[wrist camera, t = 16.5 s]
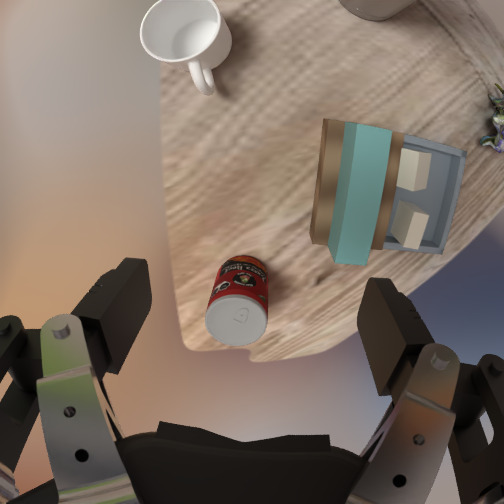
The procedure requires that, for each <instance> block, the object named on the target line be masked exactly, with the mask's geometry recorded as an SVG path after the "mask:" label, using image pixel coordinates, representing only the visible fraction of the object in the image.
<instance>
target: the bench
mask: <svg viewBox="0 0 504 504" xmlns="http://www.w3.org/2000/svg"><path fill="white" fill-rule="evenodd" d="M344 129H345V122H342V121H335V120H329V119H323V127H322V137H321V147H320V156H319V164H318V173H317V181H316V189H315V197H314V204H313V211H312V218H311V225H310V232H309V234H310V237H311V240H312V244H320V245H328V240H329V234H330V229H331V223H332V217H333V211H334V204H335V198H336V191H337V185H338V177H339V170H340V163H341V155H342V147H343V138H344ZM404 136H405V134H402V133H398V132H394V131H392V136H391V143H390V150H389V157H388V164H387V170H386V176H385V182H384V187H383V193H382V198H381V203H380V208H379V213H378V218H377V222H376V227H375V231H374V236H373V240H372V244H371V248H370V249H376V250H382V249H383V245H384V241H385V237H386V233H387V228H388V224H389V220H390V215H391V211H392V206H393V201H394V196H395V191H396V185H397V179H398V172H399V165H400V157H401V149H402V148H403V143H404Z"/></svg>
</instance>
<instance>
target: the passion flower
mask: <svg viewBox="0 0 504 504" xmlns="http://www.w3.org/2000/svg"><path fill="white" fill-rule="evenodd" d="M495 85H496V86H497V88H498V89H499V90H500V91H501V92H502V94H503V98H502V99H499V98H495V97H492V96H490V95H489V94H488V96H489V97H490V98H491V100H492V103H493V105H494V106H495V107H496V108H495V109H496V113H495V114H493V117H492V123H493V124H494V126H495V128H496V129H497V134H491V135H489V136H483V137H482V138H481V139H480V144H481V145H482V146H484V145H491V146H492V147H493V148H494V149H495V150H496V151H497V152H499V153H501V152H504V110H503V108H504V106H502V105H500V104H499V103H500V102H502V101H503V100H504V90H503V89H502V88H501V87H500V86H499V85H498V84H495ZM498 108H499V109H500V110H499V109H498ZM500 113H501V114H500Z"/></svg>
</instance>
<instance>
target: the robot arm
mask: <svg viewBox="0 0 504 504" xmlns="http://www.w3.org/2000/svg"><path fill="white" fill-rule="evenodd" d="M339 1H340V2H341V4H342V5H343V6H344V7H345V8H346V9H347V10H349V11H350V12H351V13H353V14H355V15H357V16H359V17H361V18H364V19H367V20H372V21H382V20H386V19H388V18H390V17H392V16H393V15H395V14H396V13H398V12H399V11H401V10H403V9H404V8H406V7H407V6H409V5H411V4H412V3H414V2H415V1H417V0H339ZM151 303H152V293H151V286H150V279H149V271H148V264H147V261H146V260H145V259H137V258H125V259H124V260H123V261H122V262H121V263H120V264H119V266H118V267H117V268H116V269H112V270H110V271H109V272H107V273H105V274H104V275H102V276H101V277H100V278H99V279H98V280H97V282H96V283H95V285H94V286H92V288H91V289H90V290H89V293H87V294H86V295H85V296H84V297H83V299H82V300H81V301H80V302H79V304H78V305H77V306H76V307H75V309H74V310H73V311H72V312H71V314H62V315H57V316H55V317H52V318H51V319H49V320H48V321H47V322H46V323H45V324H44V325H43V326H42V328H41V329H24V326H23V324H22V322H21V320H20V319H19V317H17V316H13V315H9V316H4V317H2V318H0V383H1V381H2V379H3V377H4V376H5V374H6V373H7V371H8V372H9V374H10V375H11V377H12V378H13V381H12V383H11V384H10V386H9V388H8V389H7V391H6V393H5V395H4V397H3V398H2V400H1V402H0V504H424V503H425V501H426V499H427V497H428V495H429V493H430V490H431V488H432V486H433V483H434V481H435V478H436V476H437V473H438V470H439V468H440V465H441V463H442V460H443V457H444V454H445V451H446V448H447V445H448V449H449V452H450V456H451V460H452V464H453V469H454V473H455V477H456V482H457V486H458V491H459V496H460V502H461V504H504V360H503V359H502V358H500V357H498V356H496V355H493V354H486V355H484V356H483V357H482V358H481V359H480V361H479V362H478V364H477V365H471V364H465V363H460V361H459V358H458V356H457V355H456V353H455V352H454V351H453V350H451V349H450V348H449V347H447V346H445V345H442V344H439V343H435V341H434V339H433V338H432V336H431V334H430V332H429V331H428V329H427V327H426V325H425V324H424V322H423V320H422V319H421V317H420V315H419V313H418V312H416V309H415V307H414V305H413V304H412V302H411V300H409V299H408V298H407V297H406V296H405V295H404V294H403V293H401V292H398V291H397V289H396V287H395V286H394V284H393V282H392V281H391V279H389V278H373V277H371V278H369V280H368V282H367V284H366V288H365V291H364V295H363V298H362V301H361V305H360V308H359V311H358V316H357V327H358V330H359V333H360V336H361V339H362V343H363V346H364V349H365V352H366V355H367V358H368V361H369V365H370V368H371V371H372V374H373V378H374V381H375V384H376V388H377V391H378V395H379V396H387V395H391V397H392V402H391V403H390V405H389V407H388V408H387V410H386V412H385V414H384V416H383V418H382V419H381V421H380V423H379V425H378V427H377V428H376V430H375V432H374V434H373V435H372V437H371V439H370V440H369V442H368V444H367V445H366V447H365V448H364V449H363V451H362V452H361V454H360V455H359V456H358V455H356V454H354V453H353V452H350V451H348V450H345V449H341V448H339V447H335V446H330V437H329V435H286V436H281V437H275V438H270V439H264V440H258V441H251V442H240V441H237V440H233V439H230V438H227V437H224V436H221V435H218V434H215V433H213V432H210V431H207V430H204V429H201V428H197V427H190V426H184V425H177V424H172V423H167V422H162V421H160V422H159V425H158V428H157V432H147V433H140V434H135V435H132V436H129V437H125V435H124V433H123V431H122V429H121V426H120V424H119V421H118V419H117V417H116V414H115V411H114V409H113V406H112V403H111V400H110V397H109V395H108V392H107V389H106V386H105V383H104V381H103V377H104V375H105V373H106V372H109V373H113V374H117V375H118V374H119V371H120V369H121V367H122V365H123V363H124V361H125V359H126V357H127V355H128V353H129V351H130V349H131V347H132V344H133V343H134V341H135V339H136V337H137V335H138V333H139V331H140V329H141V327H142V325H143V323H144V321H145V319H146V317H147V315H148V313H149V311H150V308H151ZM485 411H487V414H488V416H489V419H490V421H491V424H492V426H493V430H494V436H493V440H492V442H491V443H490V444H489V445H488V442H487V439H486V436H485V433H484V430H483V428H482V425H481V422H480V419H479V418H480V417H481V416H482V415H483V413H484V412H485ZM39 412H40V416H41V422H42V428H43V433H44V438H45V443H46V448H47V452H48V457H49V461H50V465H51V469H52V472H53V476H54V478H53V479H51V480H49V481H48V482H46V483H44V484H42V485H40V486H38V487H36V488H34V489H32V490H30V491H28V492H26V493H24V494H22V495H20V496H19V490H18V488H17V486H15V479H14V476H13V473H14V471H15V468H16V465H17V463H18V460H19V458H20V455H21V453H22V450H23V448H24V445H25V443H26V441H27V438H28V436H29V434H30V431H31V429H32V427H33V425H34V423H35V421H36V418H37V416H38V414H39Z"/></svg>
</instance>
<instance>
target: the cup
mask: <svg viewBox="0 0 504 504" xmlns="http://www.w3.org/2000/svg"><path fill="white" fill-rule="evenodd" d="M140 39H141V43H142V45H143V47H144V49H145V50H146V51H147V52H148V53H149V54H150V55H151V56H152V57H154V58H156V59H158V60H160V61H163V62H165V63H168V64H170V65H172V66H175V67H177V68H179V69H182V70H184V71H188V72H190V73H191V76H192V78H193V81H194V83H195V85H196V86H197V88H198V89H199V90H200V91H201V92H202V93H203V94H204V95H212V94H213V93H214V90H215V85H214V79H213V75H212V71H211V69H213V68H215V67H217V66H218V65H220V64H221V63H222V62H223V61H224V60H225V59H226V57H227V56H228V54H229V52H230V50H231V46H232V37H231V33H230V30H229V28H228V26H227V24H226V22H225V20H224V18H223V16H222V14H221V12H220V11H219V9H218V7H217V5H216V4H215V3H214V2H213V0H159V1H158V2H157V3H155V4H154V5H153V6H152V7H151V8H150V9H149V10H148V12H147V13H146V15H145V16H144V18H143V21H142V24H141V28H140Z"/></svg>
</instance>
